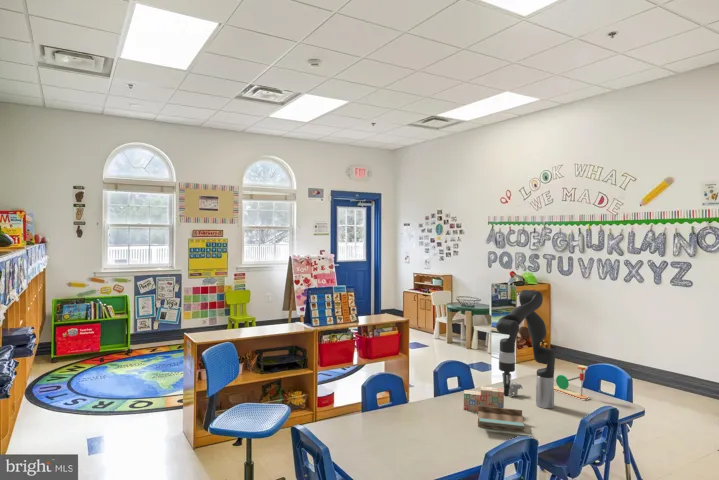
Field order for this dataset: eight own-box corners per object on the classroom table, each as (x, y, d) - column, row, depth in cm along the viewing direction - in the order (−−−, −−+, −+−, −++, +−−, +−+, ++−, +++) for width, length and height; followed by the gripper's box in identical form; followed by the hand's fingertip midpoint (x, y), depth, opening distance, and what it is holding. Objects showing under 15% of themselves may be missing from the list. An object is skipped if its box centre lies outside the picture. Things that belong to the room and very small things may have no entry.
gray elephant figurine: (500, 395, 284) (500, 382, 284) (512, 390, 292) (512, 378, 291) (514, 399, 277) (514, 387, 277) (525, 394, 284) (525, 382, 284)
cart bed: (521, 422, 241) (521, 410, 241) (523, 431, 229) (524, 418, 229) (478, 417, 246) (478, 405, 246) (478, 426, 235) (478, 413, 235)
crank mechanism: (590, 399, 279) (591, 367, 279) (583, 400, 276) (584, 368, 276) (554, 387, 301) (555, 357, 301) (548, 388, 298) (548, 358, 298)
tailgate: (523, 422, 229) (524, 426, 221) (523, 425, 228) (524, 429, 221) (479, 417, 234) (479, 421, 226) (479, 420, 234) (479, 423, 226)
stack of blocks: (463, 409, 258) (463, 387, 258) (463, 406, 264) (464, 384, 264) (503, 414, 252) (504, 392, 252) (503, 410, 258) (503, 388, 258)
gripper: (516, 364, 219) (515, 401, 219) (514, 357, 232) (513, 392, 232) (499, 363, 221) (498, 399, 221) (498, 356, 234) (497, 390, 234)
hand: (506, 395), depth 227 cm, fingers closed
